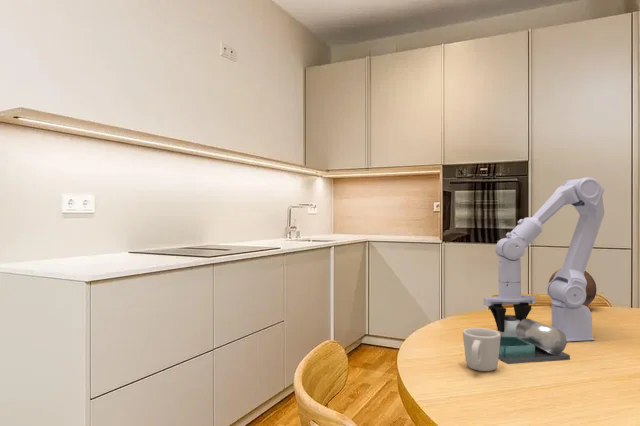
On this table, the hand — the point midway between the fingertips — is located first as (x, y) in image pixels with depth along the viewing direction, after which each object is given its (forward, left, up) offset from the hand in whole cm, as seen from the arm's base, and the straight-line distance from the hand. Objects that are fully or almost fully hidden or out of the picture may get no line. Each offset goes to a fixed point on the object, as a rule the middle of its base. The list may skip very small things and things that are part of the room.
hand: (510, 330), depth 124 cm
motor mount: (+5, +13, -2) cm, 14 cm away
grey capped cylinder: (0, 0, -2) cm, 2 cm away
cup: (+21, +22, -2) cm, 30 cm away
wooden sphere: (-43, -30, -2) cm, 52 cm away
